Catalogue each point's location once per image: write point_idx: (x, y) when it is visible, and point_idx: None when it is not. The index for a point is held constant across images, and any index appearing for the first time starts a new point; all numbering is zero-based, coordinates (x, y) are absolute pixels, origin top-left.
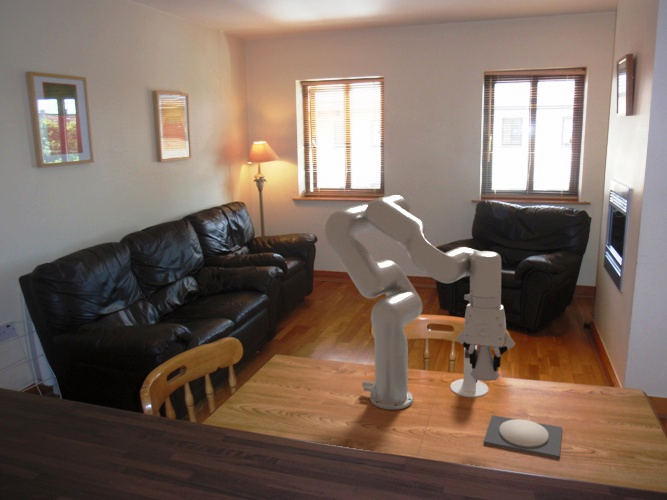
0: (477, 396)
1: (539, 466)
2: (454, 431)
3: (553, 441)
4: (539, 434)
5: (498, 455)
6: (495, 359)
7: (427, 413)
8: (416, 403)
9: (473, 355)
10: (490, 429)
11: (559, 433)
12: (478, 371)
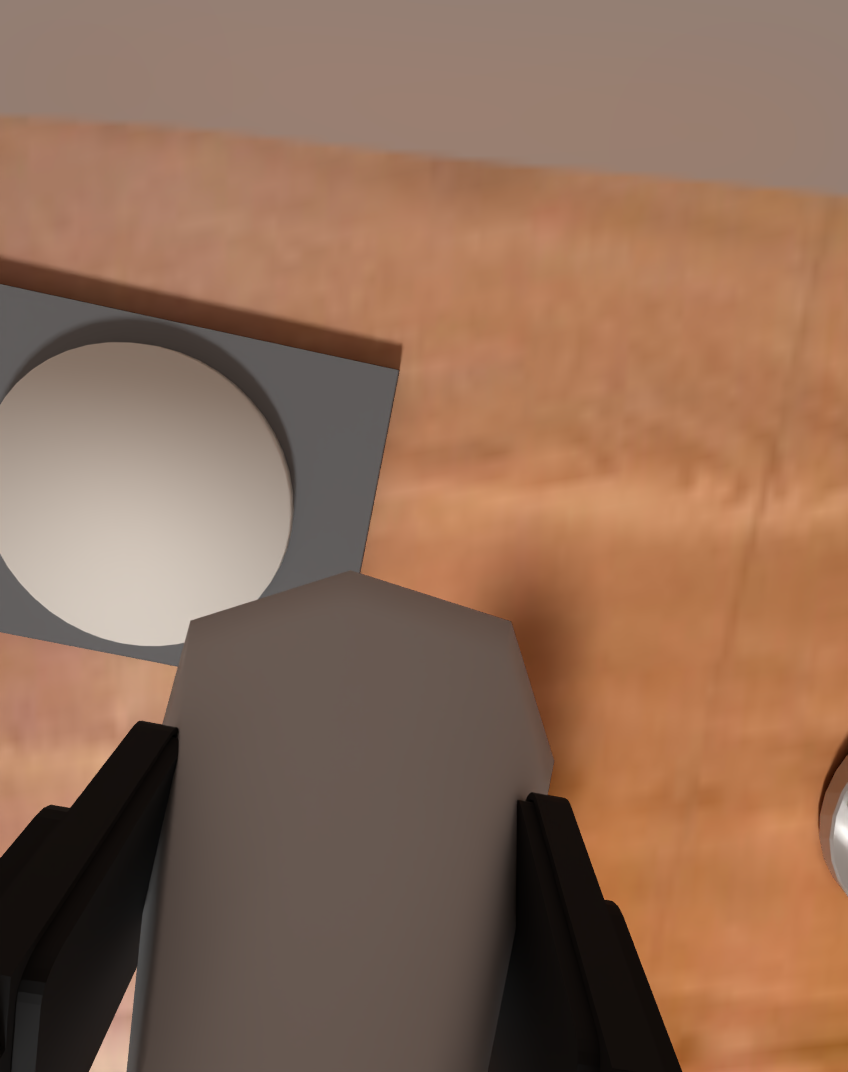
0: None
1: (54, 156)
2: (576, 495)
3: None
4: (35, 478)
5: (309, 248)
6: (18, 905)
7: (734, 682)
8: (795, 788)
9: (613, 1041)
10: (349, 524)
11: None
12: (456, 697)
